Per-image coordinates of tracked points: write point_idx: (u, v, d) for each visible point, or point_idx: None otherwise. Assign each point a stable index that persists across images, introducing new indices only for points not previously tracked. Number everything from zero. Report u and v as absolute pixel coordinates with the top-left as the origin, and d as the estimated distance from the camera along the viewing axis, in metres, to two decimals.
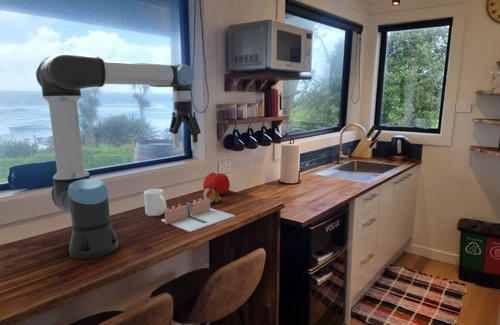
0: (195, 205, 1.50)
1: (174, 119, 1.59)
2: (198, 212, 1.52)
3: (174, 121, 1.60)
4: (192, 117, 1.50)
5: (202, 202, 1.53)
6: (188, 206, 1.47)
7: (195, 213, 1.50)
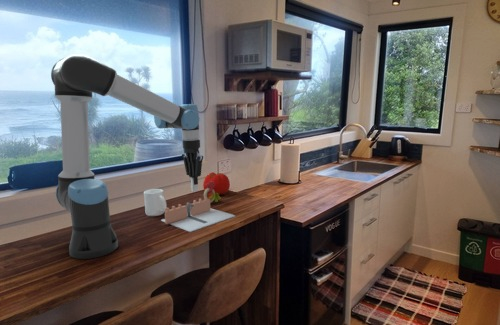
0: (195, 205, 1.50)
1: (186, 160, 1.58)
2: (198, 212, 1.52)
3: (187, 162, 1.58)
4: (199, 161, 1.52)
5: (202, 202, 1.53)
6: (188, 206, 1.47)
7: (195, 213, 1.50)
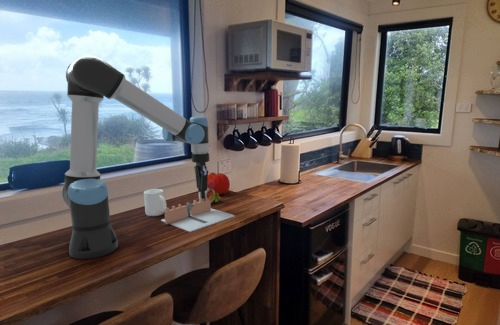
0: (195, 205, 1.50)
1: None
2: (198, 212, 1.51)
3: (198, 175, 1.56)
4: (203, 176, 1.48)
5: (202, 202, 1.52)
6: (188, 206, 1.47)
7: (195, 213, 1.50)
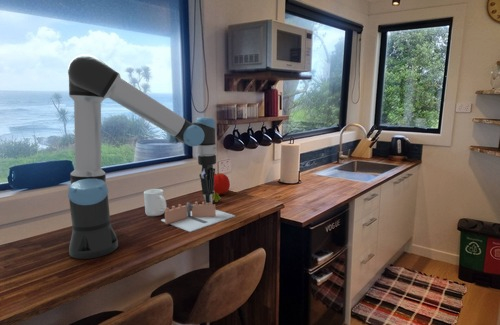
0: (195, 207, 1.47)
1: None
2: (199, 215, 1.48)
3: None
4: (202, 179, 1.42)
5: (204, 206, 1.47)
6: (188, 206, 1.47)
7: (195, 215, 1.48)
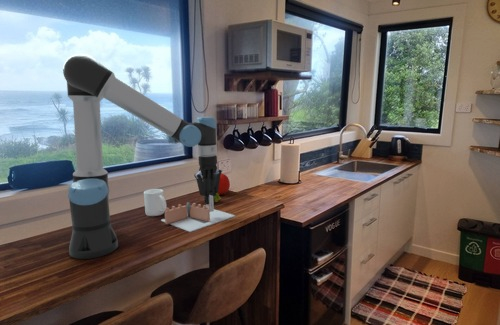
0: (193, 208, 1.46)
1: (215, 176, 1.47)
2: (195, 217, 1.45)
3: (215, 179, 1.47)
4: (197, 179, 1.40)
5: (199, 209, 1.43)
6: (188, 206, 1.47)
7: (193, 216, 1.46)
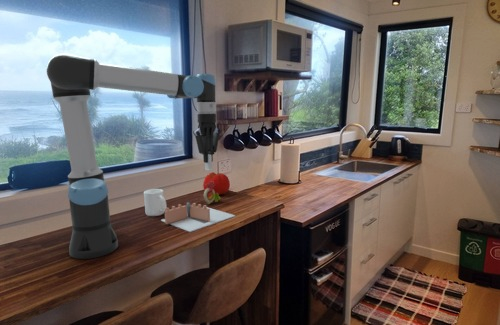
0: (193, 208, 1.46)
1: (213, 136, 1.47)
2: (196, 217, 1.45)
3: (213, 138, 1.47)
4: (196, 136, 1.40)
5: (199, 209, 1.43)
6: (188, 206, 1.47)
7: (193, 216, 1.46)
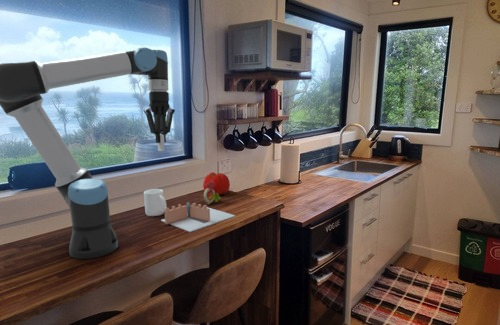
0: (193, 208, 1.46)
1: (167, 115, 1.42)
2: (196, 217, 1.45)
3: (167, 118, 1.42)
4: (147, 115, 1.35)
5: (199, 209, 1.43)
6: (188, 206, 1.47)
7: (193, 216, 1.46)
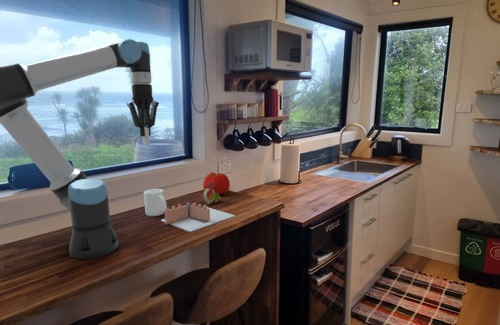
0: (193, 208, 1.46)
1: (151, 108, 1.40)
2: (196, 217, 1.45)
3: (151, 111, 1.40)
4: (130, 108, 1.34)
5: (199, 209, 1.43)
6: (188, 206, 1.47)
7: (193, 216, 1.46)
